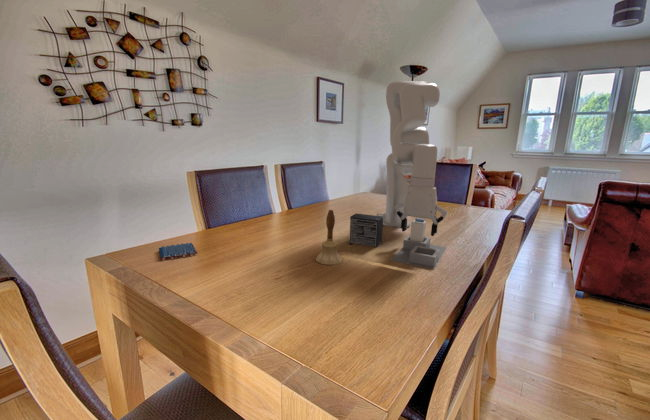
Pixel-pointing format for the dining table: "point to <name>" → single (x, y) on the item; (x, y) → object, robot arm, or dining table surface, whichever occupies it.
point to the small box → (366, 229)
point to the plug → (418, 230)
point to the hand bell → (329, 245)
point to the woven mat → (177, 251)
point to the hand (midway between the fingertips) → (418, 232)
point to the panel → (419, 253)
